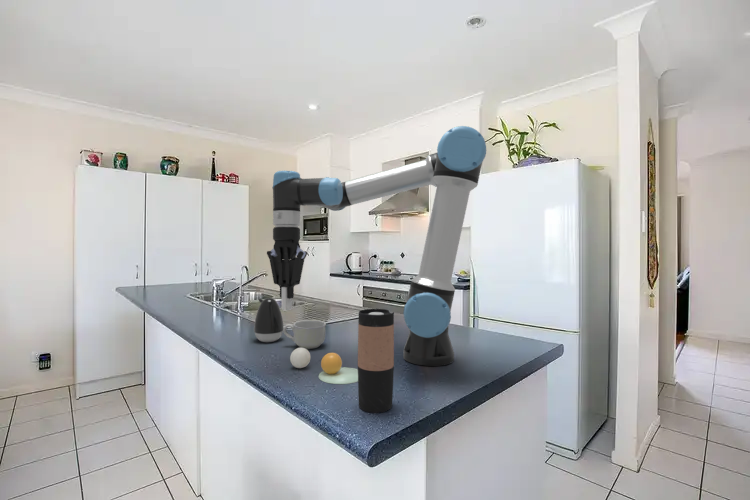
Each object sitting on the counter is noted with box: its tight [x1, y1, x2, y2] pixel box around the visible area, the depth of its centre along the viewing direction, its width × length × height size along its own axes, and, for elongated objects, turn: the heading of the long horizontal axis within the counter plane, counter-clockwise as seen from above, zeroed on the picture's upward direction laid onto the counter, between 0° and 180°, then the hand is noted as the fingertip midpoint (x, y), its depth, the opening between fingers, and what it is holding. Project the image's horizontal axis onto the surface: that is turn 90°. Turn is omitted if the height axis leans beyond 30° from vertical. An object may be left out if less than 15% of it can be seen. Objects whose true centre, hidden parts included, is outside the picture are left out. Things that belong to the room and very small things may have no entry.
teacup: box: [282, 319, 327, 350], centre depth 125 cm, size 14×11×8 cm
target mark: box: [318, 366, 358, 385], centre depth 97 cm, size 12×12×1 cm
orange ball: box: [320, 352, 343, 374], centre depth 99 cm, size 6×6×6 cm
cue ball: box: [289, 347, 311, 369], centre depth 103 cm, size 6×6×6 cm
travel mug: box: [357, 308, 395, 414], centre depth 79 cm, size 8×8×20 cm
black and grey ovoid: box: [253, 297, 285, 343], centre depth 132 cm, size 10×10×15 cm
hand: (286, 309), depth 106 cm, fingers closed
